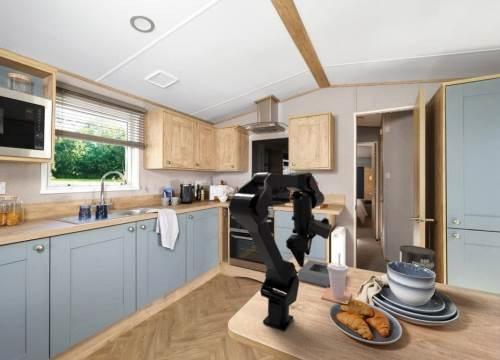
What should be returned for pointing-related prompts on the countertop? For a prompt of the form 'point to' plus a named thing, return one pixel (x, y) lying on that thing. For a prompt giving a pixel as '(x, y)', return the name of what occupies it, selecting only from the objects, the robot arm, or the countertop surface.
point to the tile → (329, 297)
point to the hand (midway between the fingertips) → (304, 260)
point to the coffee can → (418, 256)
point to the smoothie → (337, 278)
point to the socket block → (315, 273)
